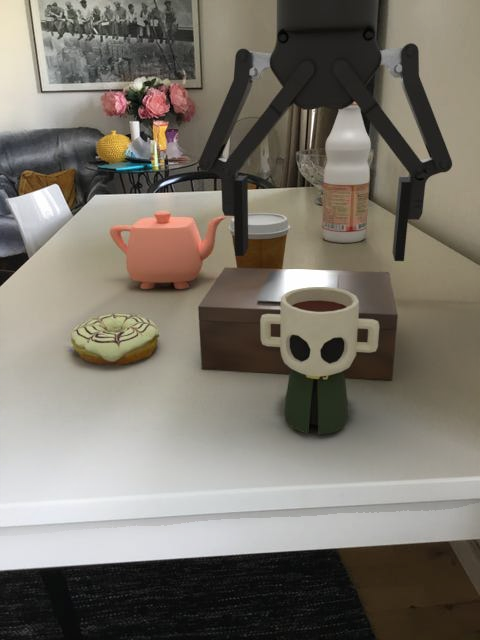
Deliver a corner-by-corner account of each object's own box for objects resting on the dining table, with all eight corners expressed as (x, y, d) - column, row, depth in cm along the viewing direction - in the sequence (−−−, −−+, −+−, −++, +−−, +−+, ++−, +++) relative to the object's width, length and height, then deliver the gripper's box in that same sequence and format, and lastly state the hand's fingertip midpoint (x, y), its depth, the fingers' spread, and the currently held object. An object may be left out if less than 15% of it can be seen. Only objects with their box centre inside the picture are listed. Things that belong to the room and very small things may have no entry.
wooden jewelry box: (384, 327, 77) (389, 270, 74) (392, 380, 63) (398, 312, 60) (226, 320, 81) (224, 265, 78) (201, 369, 67) (197, 304, 64)
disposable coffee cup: (246, 279, 98) (244, 210, 93) (298, 286, 94) (299, 214, 89) (220, 297, 90) (217, 222, 85) (275, 305, 86) (275, 227, 81)
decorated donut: (118, 378, 66) (114, 348, 64) (56, 357, 71) (52, 329, 70) (175, 344, 74) (173, 318, 72) (116, 328, 79) (113, 303, 78)
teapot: (105, 292, 93) (96, 220, 89) (124, 270, 104) (117, 205, 100) (226, 292, 92) (223, 219, 87) (232, 270, 103) (230, 204, 98)
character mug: (255, 436, 54) (253, 309, 49) (267, 398, 60) (266, 283, 55) (372, 447, 52) (382, 316, 47) (371, 407, 58) (380, 288, 53)
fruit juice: (325, 244, 118) (330, 100, 107) (318, 233, 126) (322, 99, 116) (370, 243, 118) (379, 98, 107) (360, 232, 126) (368, 97, 116)
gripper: (149, -26, 40) (168, 261, 48) (524, -47, 36) (476, 272, 44) (178, -10, 47) (191, 239, 55) (496, -26, 43) (459, 247, 51)
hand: (318, 254), depth 50 cm, fingers open, 13 cm apart
